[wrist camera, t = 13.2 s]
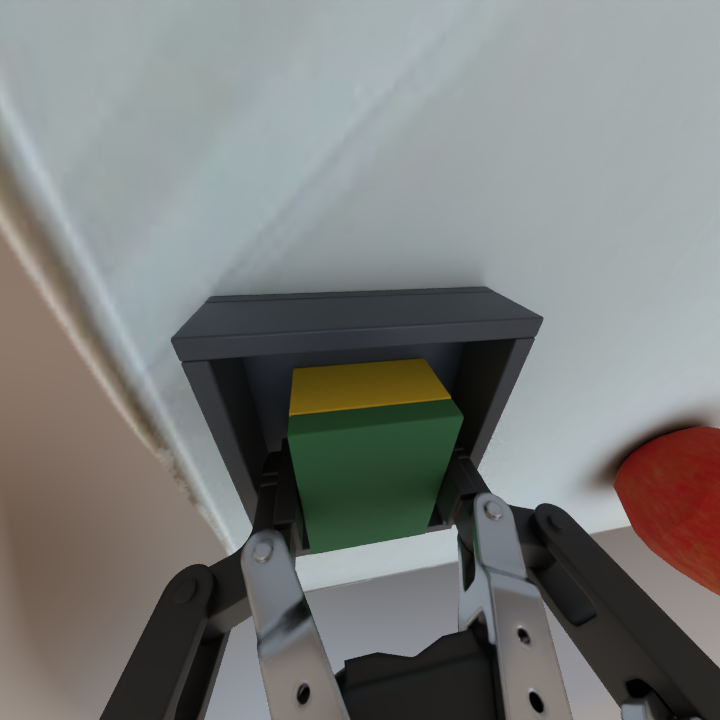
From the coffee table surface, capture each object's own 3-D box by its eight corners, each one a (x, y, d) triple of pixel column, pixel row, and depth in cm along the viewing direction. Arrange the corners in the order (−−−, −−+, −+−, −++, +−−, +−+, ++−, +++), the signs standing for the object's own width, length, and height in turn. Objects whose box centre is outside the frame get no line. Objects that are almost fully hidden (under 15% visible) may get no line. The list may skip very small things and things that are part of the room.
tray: (209, 296, 9) (168, 338, 6) (486, 286, 10) (545, 317, 8) (274, 503, 16) (267, 562, 13) (430, 480, 18) (451, 528, 15)
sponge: (292, 367, 10) (286, 437, 7) (424, 357, 11) (465, 416, 8) (310, 483, 15) (311, 555, 12) (403, 470, 15) (425, 534, 12)
